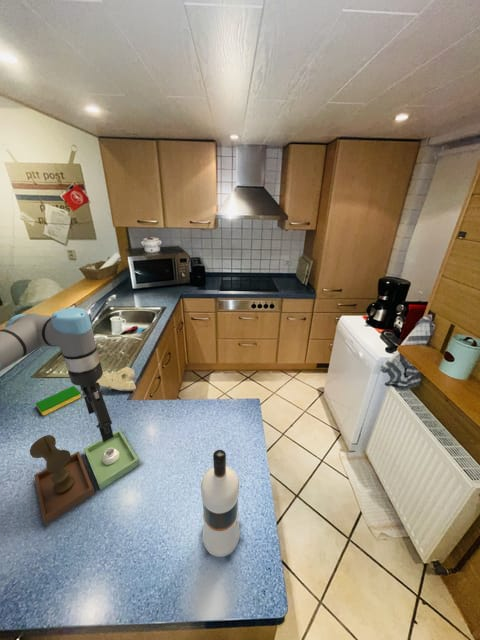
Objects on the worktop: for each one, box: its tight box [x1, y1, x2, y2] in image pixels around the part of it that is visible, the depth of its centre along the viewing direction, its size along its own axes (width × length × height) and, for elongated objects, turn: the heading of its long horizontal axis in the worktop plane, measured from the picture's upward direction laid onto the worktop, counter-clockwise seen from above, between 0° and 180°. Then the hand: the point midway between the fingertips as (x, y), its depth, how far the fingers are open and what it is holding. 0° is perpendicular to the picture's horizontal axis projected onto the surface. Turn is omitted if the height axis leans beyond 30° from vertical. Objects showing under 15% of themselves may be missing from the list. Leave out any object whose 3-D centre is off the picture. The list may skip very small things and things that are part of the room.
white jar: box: [102, 448, 120, 465], centre depth 80 cm, size 5×3×5 cm
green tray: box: [83, 429, 141, 491], centre depth 81 cm, size 16×12×3 cm
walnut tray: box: [33, 451, 96, 526], centre depth 72 cm, size 16×12×3 cm
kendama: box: [29, 434, 75, 494], centre depth 68 cm, size 6×10×20 cm, turn 59°
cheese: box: [97, 366, 137, 392], centre depth 111 cm, size 15×7×15 cm
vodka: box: [200, 449, 241, 558], centre depth 57 cm, size 9×9×30 cm
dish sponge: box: [35, 385, 82, 416], centre depth 103 cm, size 7×14×2 cm, turn 141°
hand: (100, 424), depth 75 cm, fingers open, 13 cm apart
